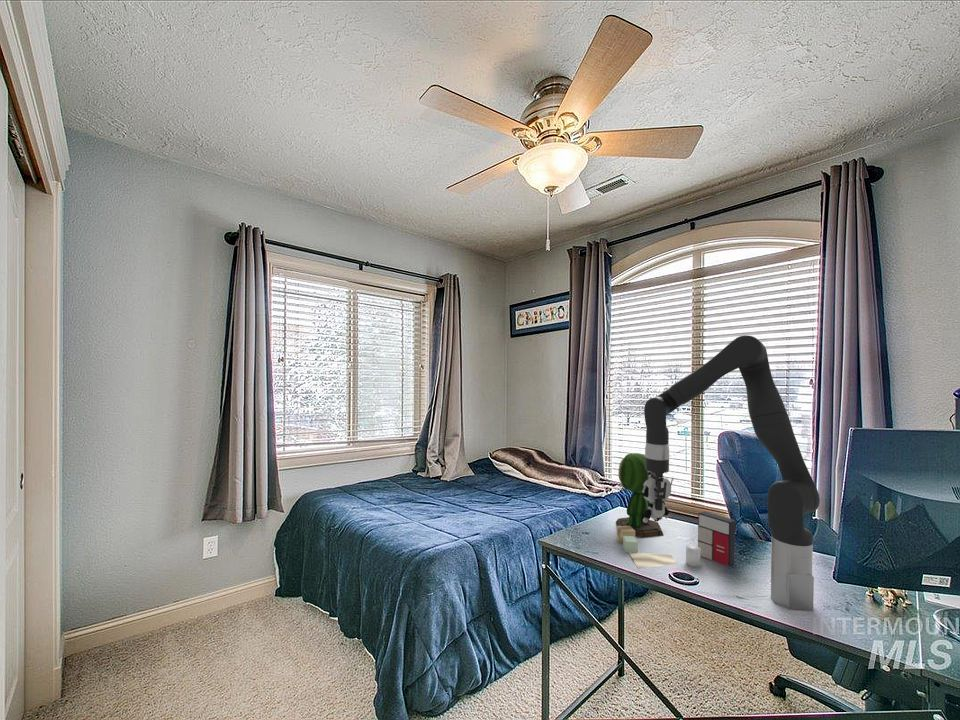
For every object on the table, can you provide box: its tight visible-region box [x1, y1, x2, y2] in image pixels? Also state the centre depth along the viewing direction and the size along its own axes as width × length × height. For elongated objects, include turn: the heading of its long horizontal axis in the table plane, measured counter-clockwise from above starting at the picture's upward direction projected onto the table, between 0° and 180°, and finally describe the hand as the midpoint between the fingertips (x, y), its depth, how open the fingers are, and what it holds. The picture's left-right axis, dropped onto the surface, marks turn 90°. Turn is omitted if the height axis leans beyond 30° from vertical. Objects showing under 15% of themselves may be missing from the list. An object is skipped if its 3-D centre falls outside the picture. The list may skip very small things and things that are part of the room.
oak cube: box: [616, 525, 636, 546], centre depth 166 cm, size 5×5×5 cm
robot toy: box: [642, 477, 674, 523], centre depth 149 cm, size 12×4×15 cm, turn 113°
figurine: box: [615, 452, 664, 539], centre depth 178 cm, size 17×20×30 cm
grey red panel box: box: [697, 510, 737, 566], centre depth 151 cm, size 11×4×15 cm, turn 34°
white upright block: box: [685, 544, 702, 568], centre depth 147 cm, size 4×4×6 cm
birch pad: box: [629, 552, 678, 570], centre depth 148 cm, size 12×14×1 cm
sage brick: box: [622, 536, 639, 553], centre depth 159 cm, size 5×4×4 cm
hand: (656, 506), depth 148 cm, fingers closed on robot toy, 5 cm apart
